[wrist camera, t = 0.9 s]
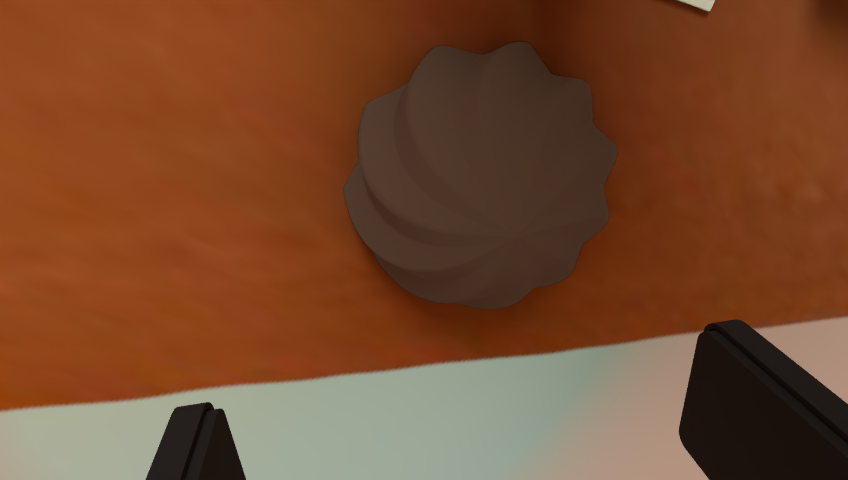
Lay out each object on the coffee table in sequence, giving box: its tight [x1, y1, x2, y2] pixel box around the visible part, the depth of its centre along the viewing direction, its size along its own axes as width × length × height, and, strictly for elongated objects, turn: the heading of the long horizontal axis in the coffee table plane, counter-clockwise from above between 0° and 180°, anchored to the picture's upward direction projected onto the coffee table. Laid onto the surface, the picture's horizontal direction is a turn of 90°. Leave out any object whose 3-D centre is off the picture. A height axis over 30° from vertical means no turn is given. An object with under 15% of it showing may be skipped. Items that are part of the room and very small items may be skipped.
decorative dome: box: [343, 42, 618, 309], centre depth 33 cm, size 19×20×10 cm
